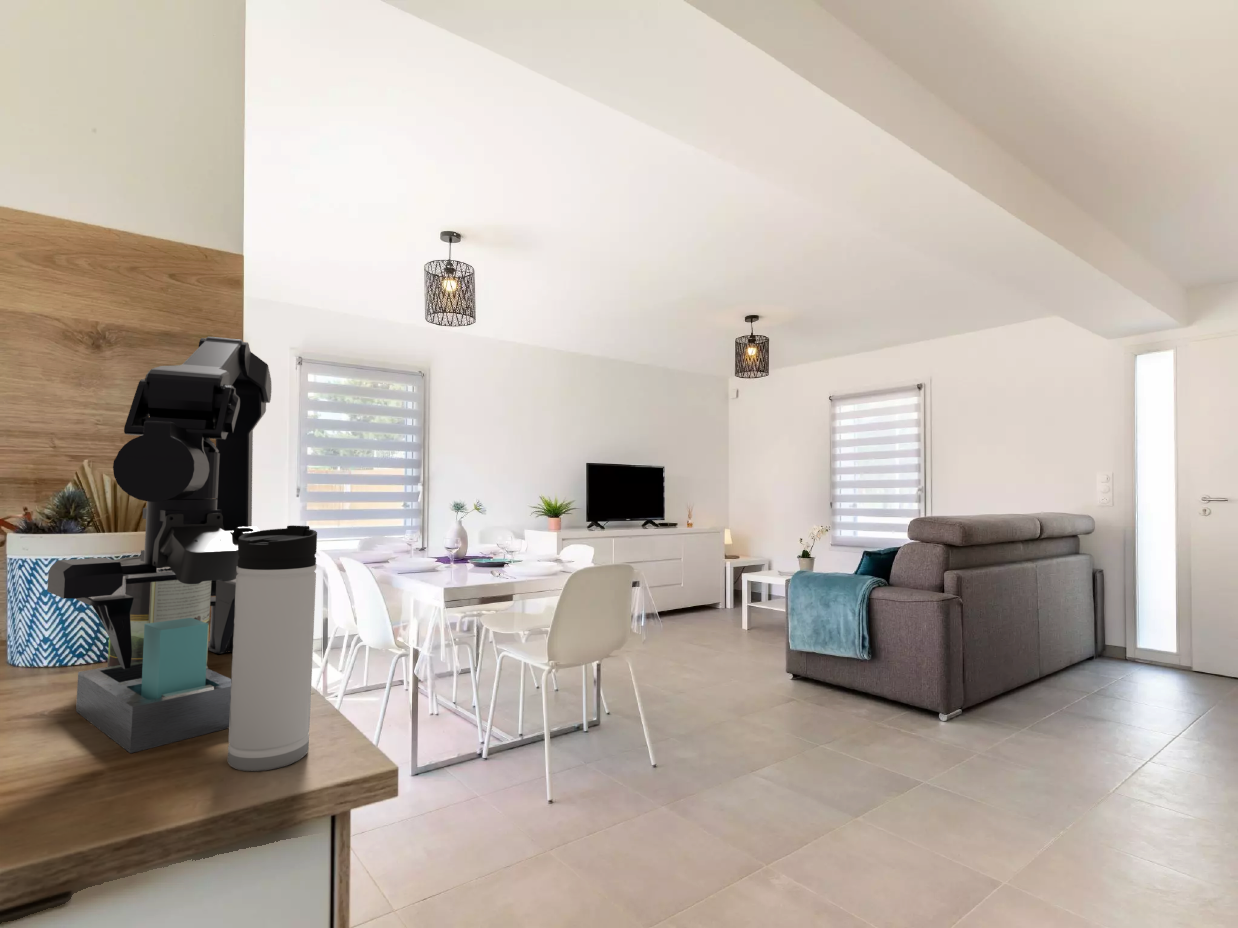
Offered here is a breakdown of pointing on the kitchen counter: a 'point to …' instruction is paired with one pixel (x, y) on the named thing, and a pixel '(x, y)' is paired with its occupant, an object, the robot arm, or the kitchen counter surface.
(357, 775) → the kitchen counter surface
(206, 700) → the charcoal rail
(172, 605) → the coffee can
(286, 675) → the travel mug
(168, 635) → the teal peg
